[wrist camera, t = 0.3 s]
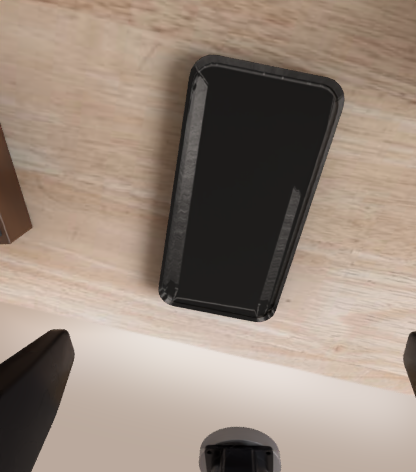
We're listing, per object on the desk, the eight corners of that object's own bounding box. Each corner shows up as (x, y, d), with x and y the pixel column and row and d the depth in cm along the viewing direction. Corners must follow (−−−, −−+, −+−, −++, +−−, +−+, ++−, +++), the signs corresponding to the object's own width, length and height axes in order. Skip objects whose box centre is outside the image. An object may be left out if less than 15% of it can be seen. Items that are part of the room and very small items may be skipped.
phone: (156, 302, 23) (192, 49, 16) (159, 293, 24) (195, 51, 17) (272, 325, 23) (354, 82, 16) (271, 314, 24) (346, 82, 17)
